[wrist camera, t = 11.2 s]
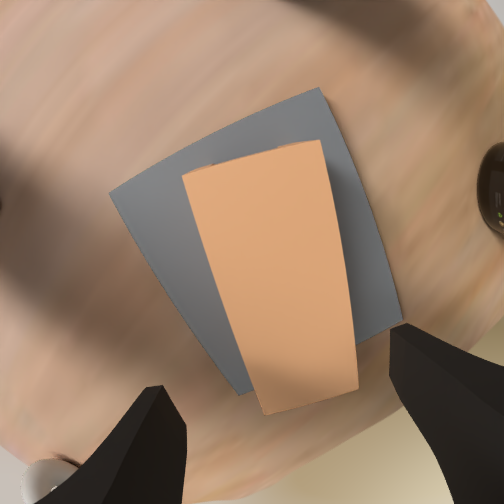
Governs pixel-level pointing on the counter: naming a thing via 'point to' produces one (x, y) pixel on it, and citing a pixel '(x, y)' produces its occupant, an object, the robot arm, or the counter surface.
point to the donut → (44, 478)
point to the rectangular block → (279, 271)
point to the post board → (191, 247)
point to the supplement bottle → (492, 187)
